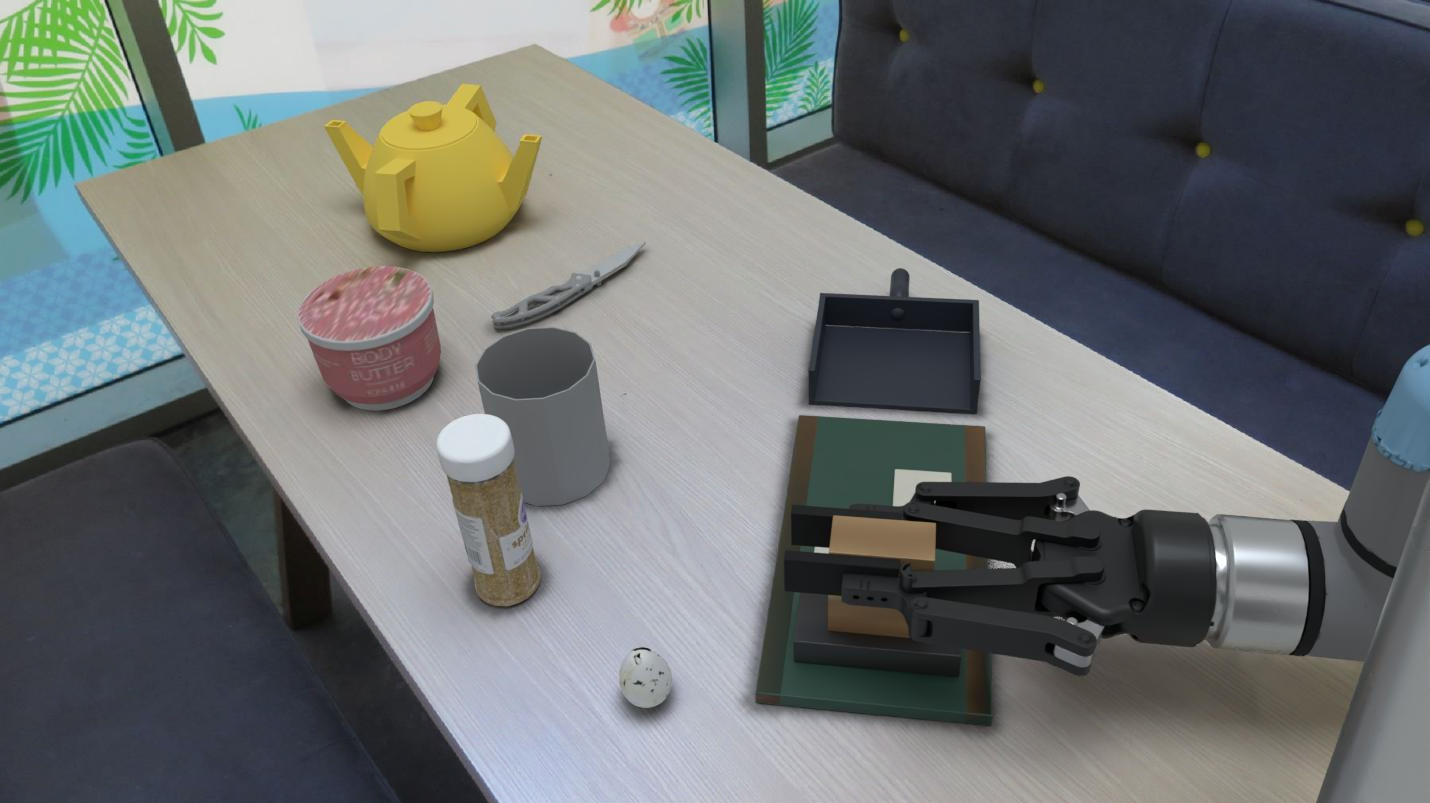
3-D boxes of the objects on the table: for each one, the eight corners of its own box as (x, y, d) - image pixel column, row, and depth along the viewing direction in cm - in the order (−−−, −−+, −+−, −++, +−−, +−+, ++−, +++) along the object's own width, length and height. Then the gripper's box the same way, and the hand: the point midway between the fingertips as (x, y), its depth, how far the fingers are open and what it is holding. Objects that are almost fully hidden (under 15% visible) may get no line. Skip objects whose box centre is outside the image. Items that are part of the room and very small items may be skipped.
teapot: (498, 160, 128) (478, 54, 120) (562, 228, 116) (544, 115, 109) (345, 207, 122) (313, 98, 114) (396, 283, 110) (365, 168, 103)
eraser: (958, 677, 72) (971, 576, 66) (793, 661, 74) (792, 562, 68) (959, 613, 76) (971, 512, 70) (801, 599, 77) (800, 500, 72)
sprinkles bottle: (548, 597, 80) (517, 447, 71) (481, 617, 79) (441, 468, 70) (533, 550, 83) (501, 402, 75) (468, 569, 82) (429, 421, 74)
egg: (684, 689, 74) (678, 637, 70) (657, 728, 72) (649, 676, 68) (640, 670, 75) (632, 618, 72) (612, 708, 73) (603, 656, 70)
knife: (635, 244, 113) (657, 255, 112) (489, 328, 104) (510, 341, 102) (634, 230, 112) (656, 241, 111) (485, 313, 103) (507, 326, 101)
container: (471, 350, 102) (453, 272, 97) (417, 430, 94) (394, 349, 89) (361, 336, 104) (338, 259, 99) (299, 413, 96) (270, 333, 91)
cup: (521, 425, 94) (499, 322, 87) (622, 435, 92) (607, 331, 86) (483, 500, 88) (458, 394, 81) (591, 512, 86) (573, 406, 80)
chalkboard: (991, 726, 70) (992, 716, 70) (755, 703, 73) (755, 693, 72) (984, 435, 90) (985, 425, 89) (798, 424, 92) (798, 414, 92)
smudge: (950, 518, 82) (951, 512, 82) (892, 513, 83) (892, 507, 82) (951, 478, 85) (951, 472, 85) (894, 474, 86) (894, 468, 86)
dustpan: (976, 414, 92) (980, 379, 90) (808, 404, 94) (808, 370, 92) (974, 293, 104) (978, 260, 102) (825, 287, 106) (826, 254, 104)
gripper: (1212, 741, 63) (773, 698, 67) (1172, 524, 76) (802, 497, 79) (1245, 652, 59) (770, 610, 62) (1197, 436, 71) (801, 411, 74)
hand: (789, 547), depth 71 cm, fingers closed on eraser, 3 cm apart
